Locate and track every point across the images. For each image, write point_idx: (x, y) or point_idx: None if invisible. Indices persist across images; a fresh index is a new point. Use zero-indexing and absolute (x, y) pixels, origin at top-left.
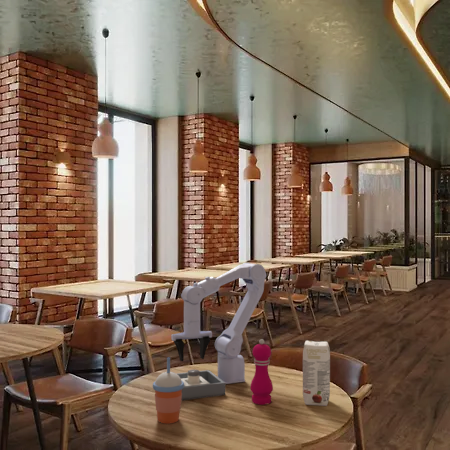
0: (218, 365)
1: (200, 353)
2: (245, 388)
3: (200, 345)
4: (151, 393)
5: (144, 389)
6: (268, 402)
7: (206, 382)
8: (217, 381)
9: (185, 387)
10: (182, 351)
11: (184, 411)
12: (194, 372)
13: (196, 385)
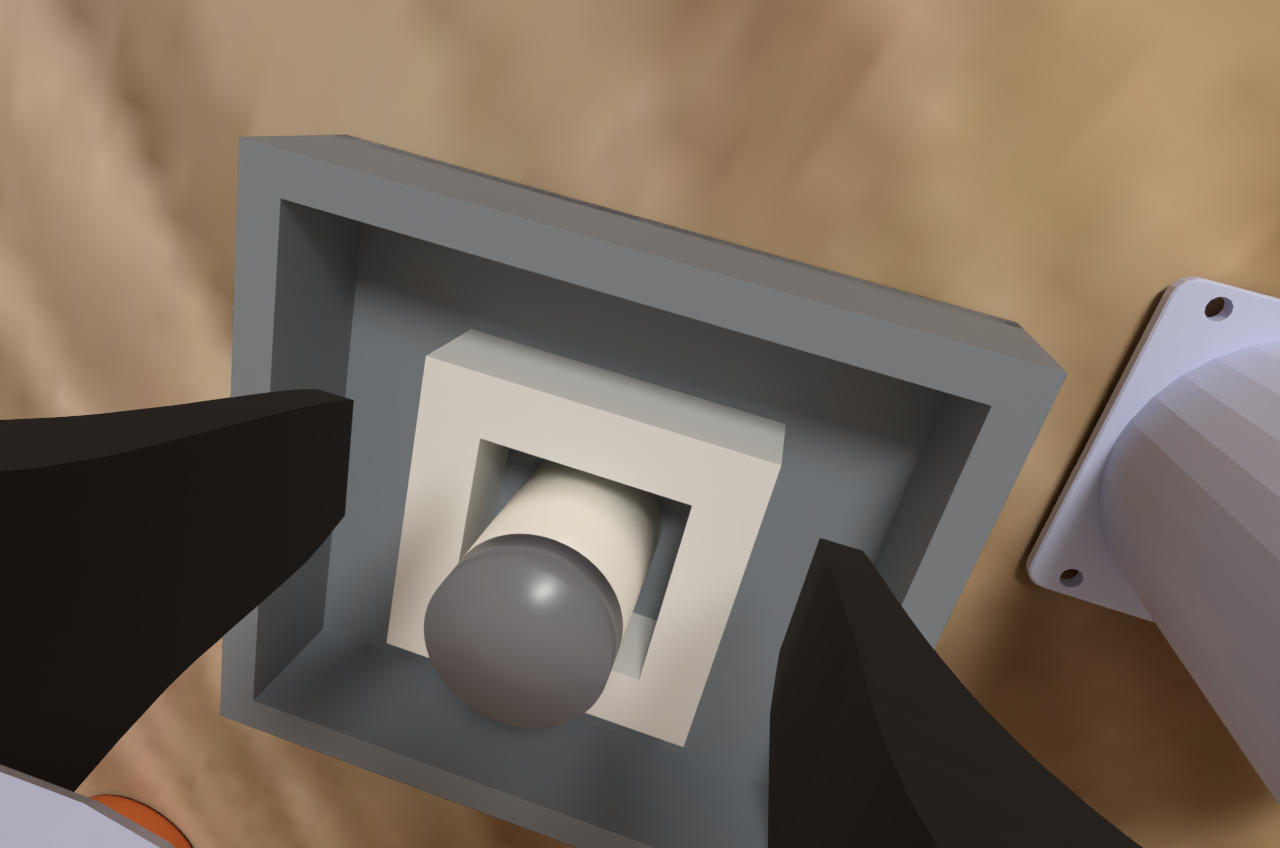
0: (1215, 571)
1: (818, 607)
2: (1154, 825)
3: (853, 745)
4: (154, 289)
5: (110, 99)
6: None
7: (673, 705)
8: None
9: (321, 747)
10: (140, 681)
11: (284, 825)
12: (489, 706)
13: (454, 781)
